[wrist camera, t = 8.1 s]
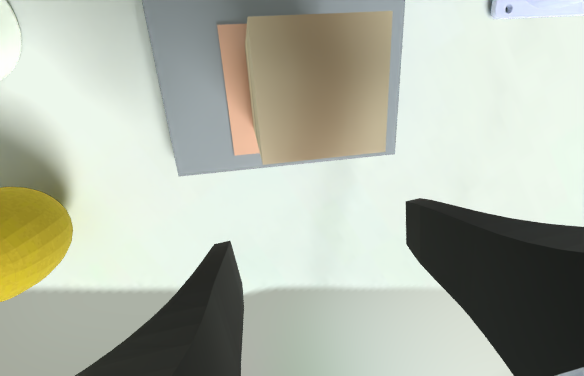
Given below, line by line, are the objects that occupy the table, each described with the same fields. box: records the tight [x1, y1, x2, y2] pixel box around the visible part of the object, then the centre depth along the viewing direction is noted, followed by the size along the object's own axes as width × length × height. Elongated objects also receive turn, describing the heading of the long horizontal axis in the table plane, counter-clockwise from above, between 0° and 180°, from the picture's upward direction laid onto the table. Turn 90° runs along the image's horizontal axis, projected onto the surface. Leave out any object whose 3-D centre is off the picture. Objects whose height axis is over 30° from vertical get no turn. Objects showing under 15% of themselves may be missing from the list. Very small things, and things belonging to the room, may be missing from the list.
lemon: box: [0, 187, 73, 302], centre depth 15 cm, size 6×6×8 cm
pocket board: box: [142, 0, 405, 176], centre depth 16 cm, size 14×18×2 cm
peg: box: [245, 11, 393, 165], centre depth 13 cm, size 4×4×8 cm
